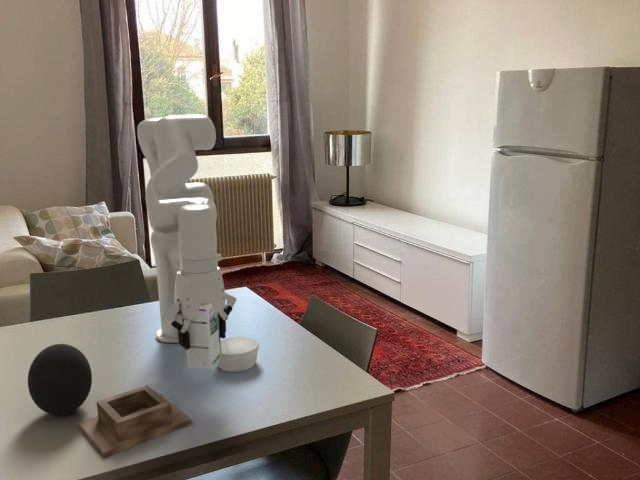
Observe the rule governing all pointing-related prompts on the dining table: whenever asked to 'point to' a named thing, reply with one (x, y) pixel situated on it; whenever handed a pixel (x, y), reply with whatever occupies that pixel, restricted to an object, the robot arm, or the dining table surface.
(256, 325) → the dining table surface
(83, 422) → the walnut holder
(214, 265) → the robot arm
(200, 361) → the syrup box
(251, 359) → the ramekin
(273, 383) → the dining table surface
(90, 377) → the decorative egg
